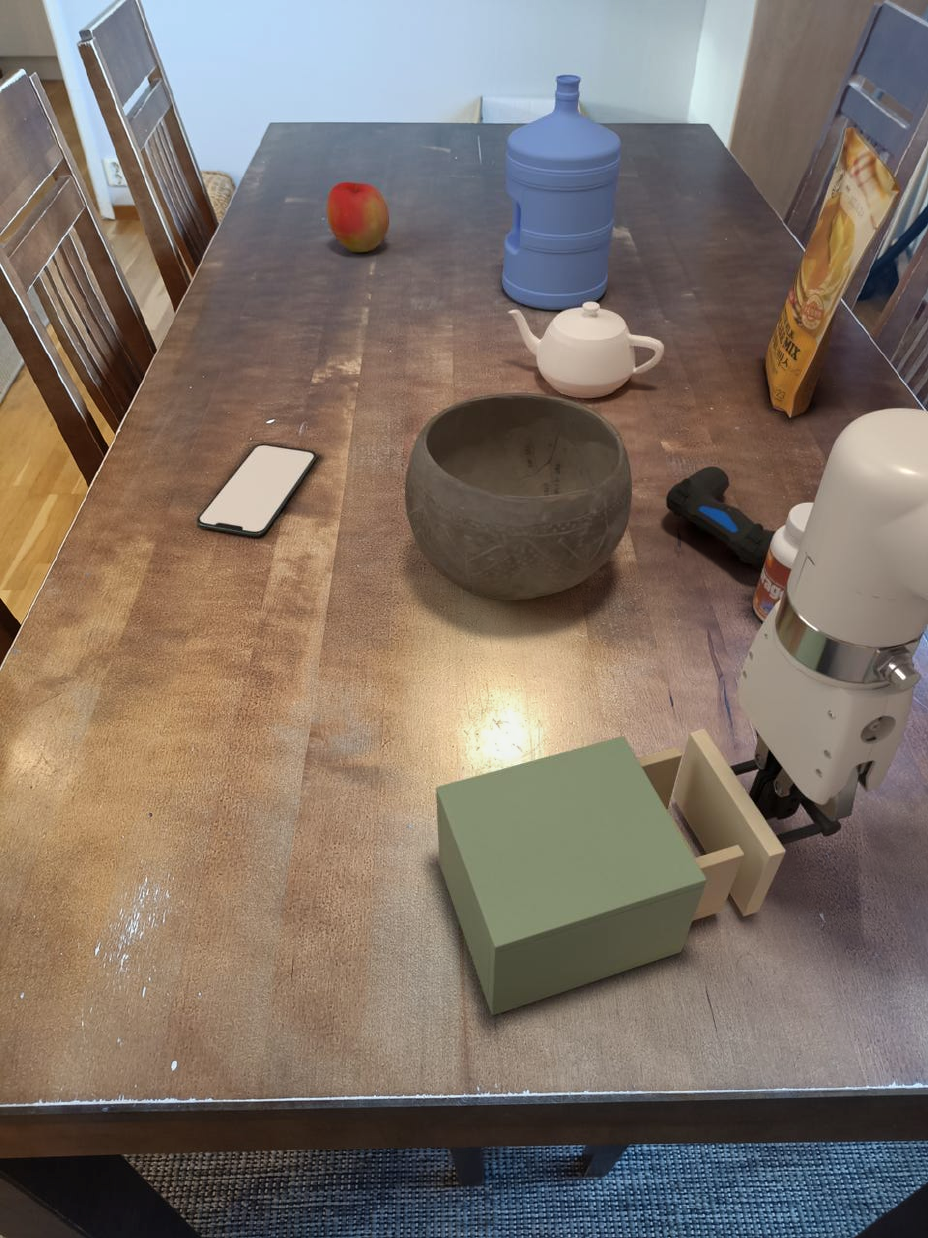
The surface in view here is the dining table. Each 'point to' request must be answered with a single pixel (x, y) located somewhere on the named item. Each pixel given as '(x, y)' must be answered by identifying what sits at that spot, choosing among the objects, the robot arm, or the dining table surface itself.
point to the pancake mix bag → (828, 270)
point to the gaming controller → (719, 515)
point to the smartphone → (257, 490)
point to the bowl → (518, 494)
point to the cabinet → (564, 872)
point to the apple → (357, 215)
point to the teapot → (587, 351)
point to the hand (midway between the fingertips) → (770, 807)
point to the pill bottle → (780, 560)
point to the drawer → (725, 823)
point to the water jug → (560, 205)
